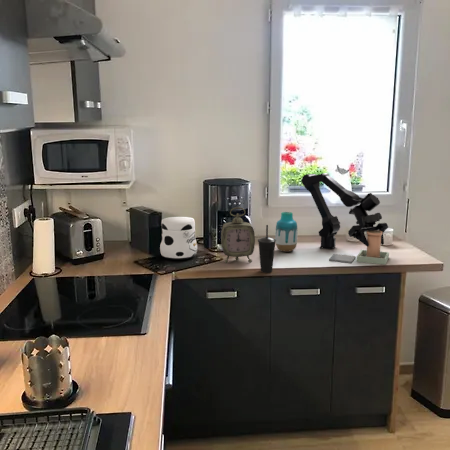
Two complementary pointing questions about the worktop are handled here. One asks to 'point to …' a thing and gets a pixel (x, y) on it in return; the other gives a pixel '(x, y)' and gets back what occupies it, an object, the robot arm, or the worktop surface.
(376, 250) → the terracotta pot
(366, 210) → the robot arm
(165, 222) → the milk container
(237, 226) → the tabletop clock
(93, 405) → the worktop surface
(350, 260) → the slate tile
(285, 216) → the vase
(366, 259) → the green tray
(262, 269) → the drinking cup
